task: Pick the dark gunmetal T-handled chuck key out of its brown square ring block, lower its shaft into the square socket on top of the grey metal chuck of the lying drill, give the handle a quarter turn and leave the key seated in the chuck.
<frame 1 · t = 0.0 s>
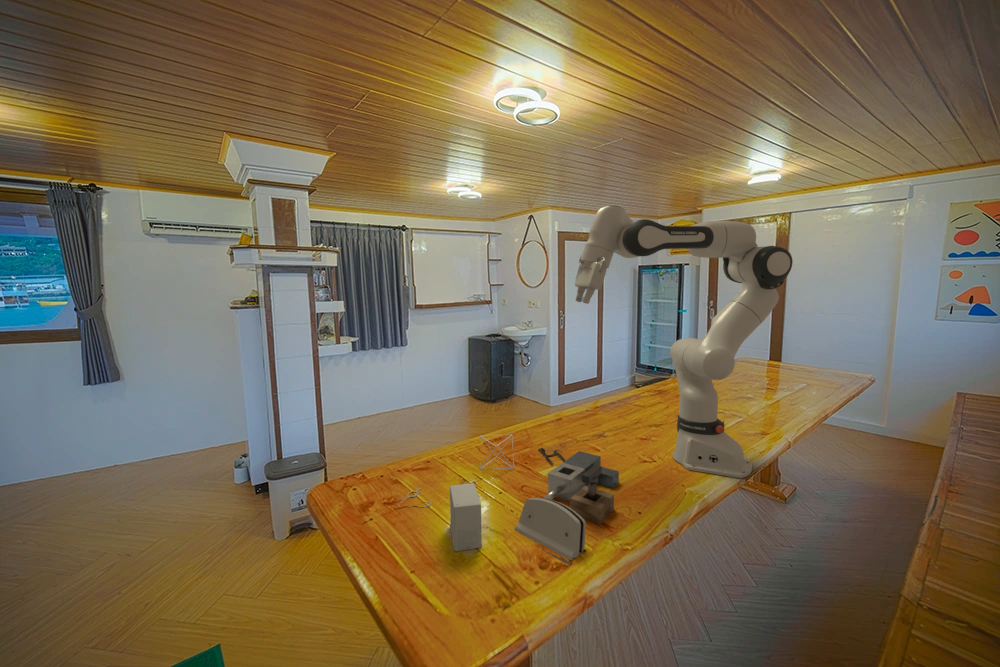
hand: (581, 302, 126), 52 cm above the table, tool tilted 20°, fingers open, 8 cm apart
chuck key: (592, 511, 103), point 1 cm above the table, touching brown square ring block
scissors: (395, 509, 110), on the table
grey curved-top slotted block: (550, 542, 94), on the table
skincare box: (466, 537, 97), on the table
brown square ring block: (592, 515, 104), on the table
geometric polyhedron: (496, 465, 134), on the table
forked twig branch: (564, 464, 135), on the table
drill: (566, 495, 114), on the table
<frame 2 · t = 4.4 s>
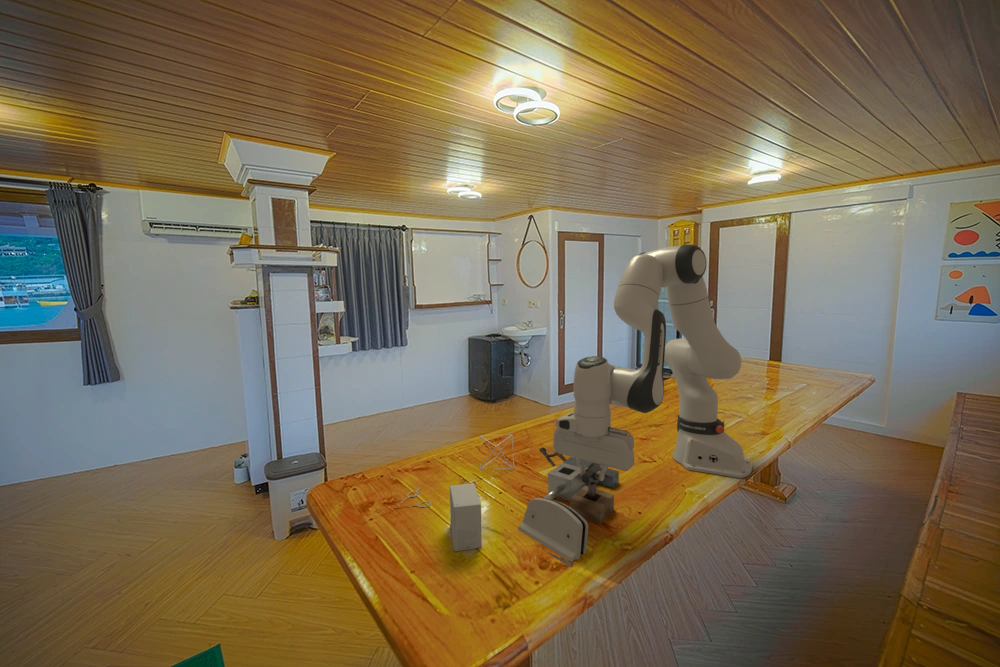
hand: (592, 477, 102), 10 cm above the table, tool pointing down, fingers closed on chuck key, 3 cm apart
chuck key: (592, 511, 103), point 1 cm above the table, touching gripper, brown square ring block
forked twig branch: (565, 463, 135), on the table, touching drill
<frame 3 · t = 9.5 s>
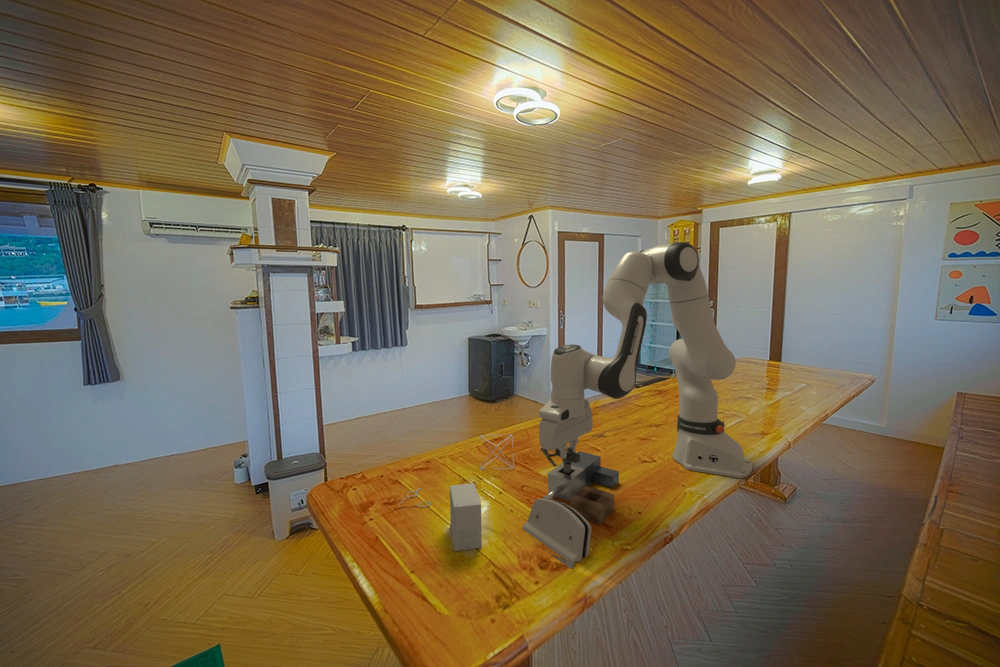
hand: (567, 455, 111), 12 cm above the table, tool pointing down, fingers closed on chuck key, 2 cm apart
chuck key: (566, 488, 113), point 2 cm above the table, touching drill, gripper
forked twig branch: (565, 463, 135), on the table
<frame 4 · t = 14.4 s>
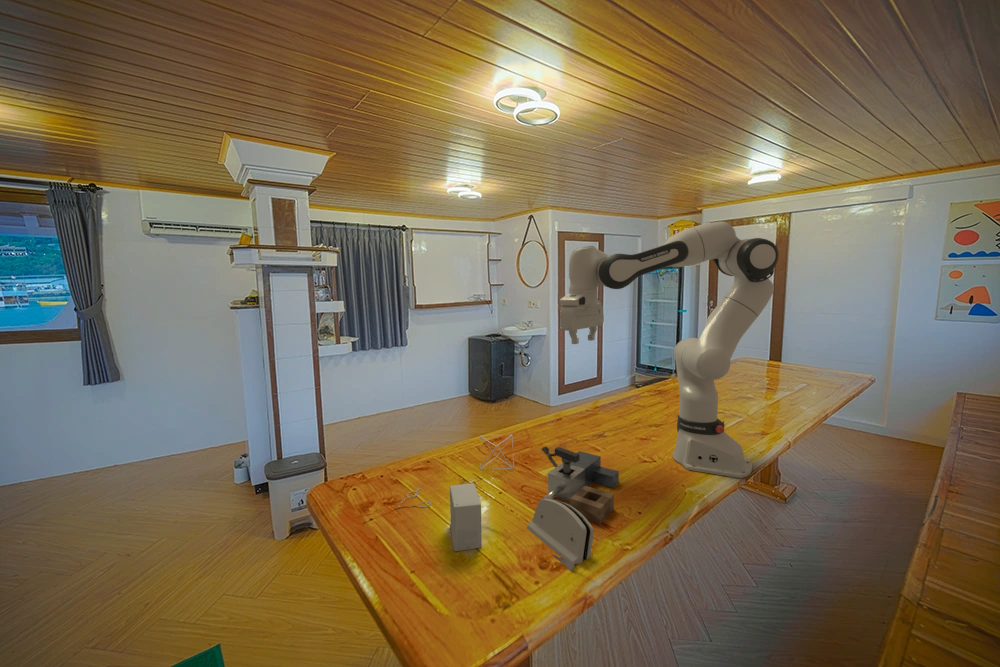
hand: (583, 342, 132), 39 cm above the table, tool pointing down, fingers open, 8 cm apart
chuck key: (566, 488, 113), point 2 cm above the table, touching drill
forked twig branch: (566, 463, 135), on the table, touching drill
at the end: chuck key 0.4 cm off-centre on the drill, point 2.0 cm above the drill's base; chuck key tilted 1°; the gripper is holding nothing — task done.
